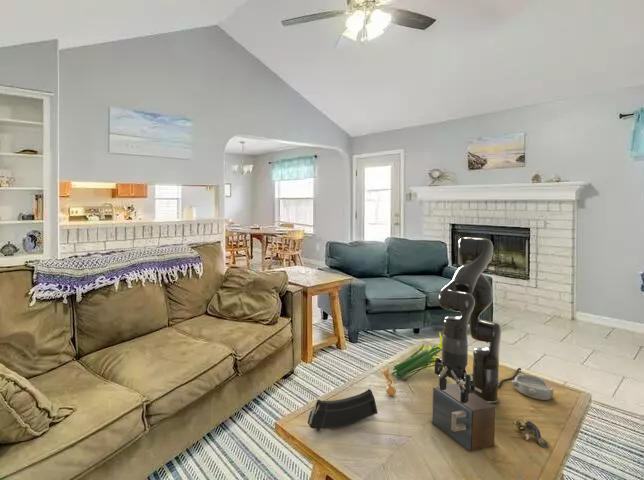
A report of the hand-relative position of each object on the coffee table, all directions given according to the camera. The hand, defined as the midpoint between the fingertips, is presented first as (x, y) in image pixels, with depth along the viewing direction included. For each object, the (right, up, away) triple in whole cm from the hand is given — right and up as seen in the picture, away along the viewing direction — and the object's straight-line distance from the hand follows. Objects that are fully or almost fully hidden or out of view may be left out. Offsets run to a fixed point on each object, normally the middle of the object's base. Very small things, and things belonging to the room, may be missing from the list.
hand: (453, 395), depth 127 cm
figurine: (-8, -18, +34) cm, 39 cm away
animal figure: (+32, -19, +7) cm, 38 cm away
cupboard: (+9, -19, +9) cm, 23 cm away
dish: (+58, -19, +38) cm, 72 cm away
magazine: (-33, -18, +14) cm, 40 cm away
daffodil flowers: (+17, -18, +54) cm, 59 cm away
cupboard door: (+1, -19, +7) cm, 20 cm away
